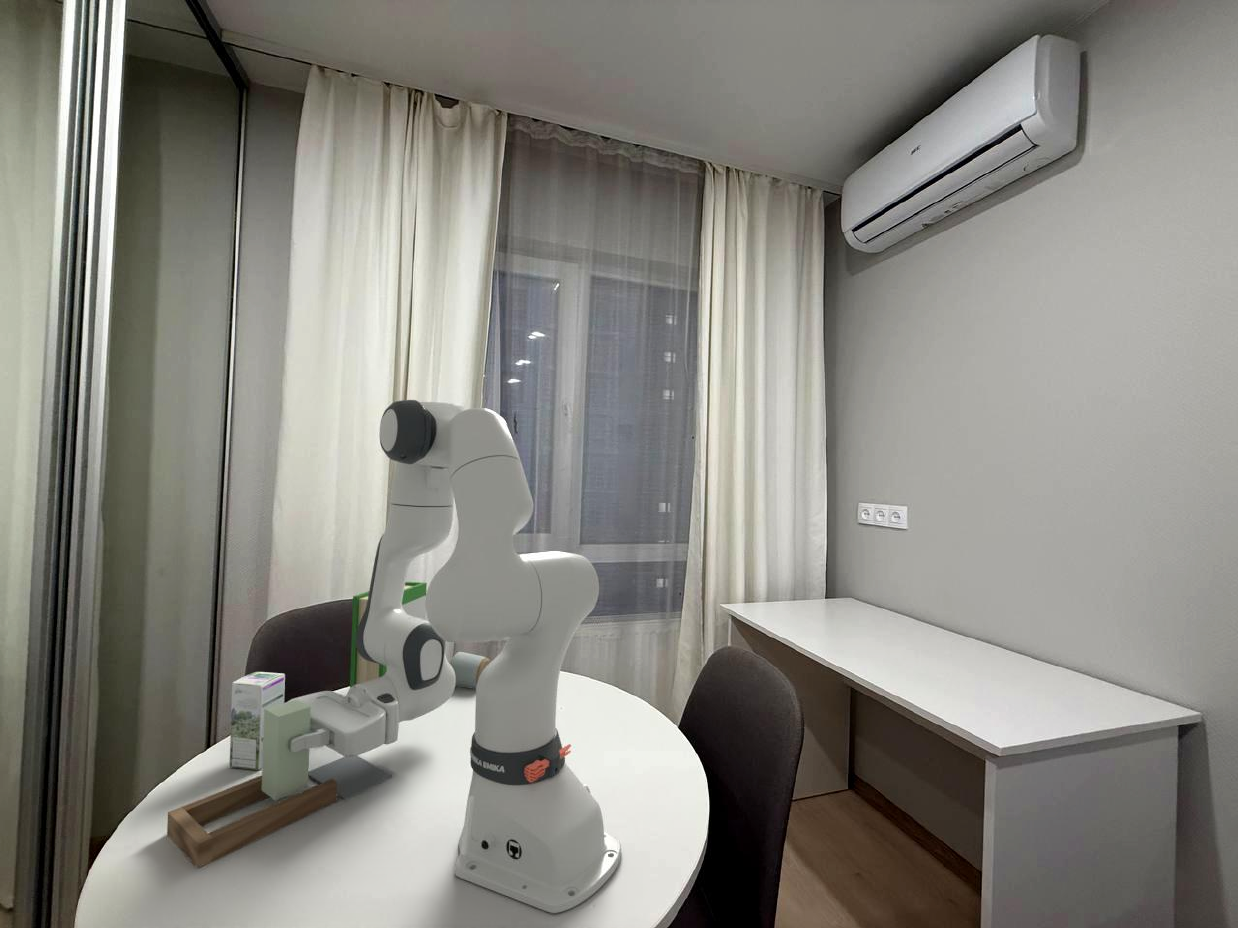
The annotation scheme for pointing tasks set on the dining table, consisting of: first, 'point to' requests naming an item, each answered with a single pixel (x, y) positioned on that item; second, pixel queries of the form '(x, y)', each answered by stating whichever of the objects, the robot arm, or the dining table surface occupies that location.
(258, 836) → the frame
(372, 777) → the mat
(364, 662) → the hardback book
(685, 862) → the dining table surface
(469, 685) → the ceramic mug
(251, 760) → the syrup box
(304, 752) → the sage block
